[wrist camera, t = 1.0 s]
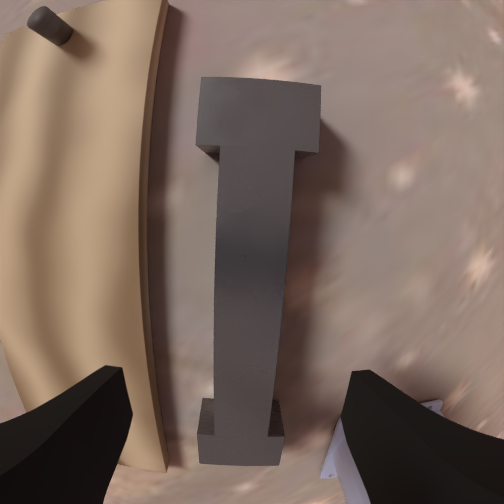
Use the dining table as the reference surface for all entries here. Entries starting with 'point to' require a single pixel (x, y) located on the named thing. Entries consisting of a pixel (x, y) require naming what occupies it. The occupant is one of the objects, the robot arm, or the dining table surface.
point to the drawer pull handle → (251, 255)
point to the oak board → (80, 206)
